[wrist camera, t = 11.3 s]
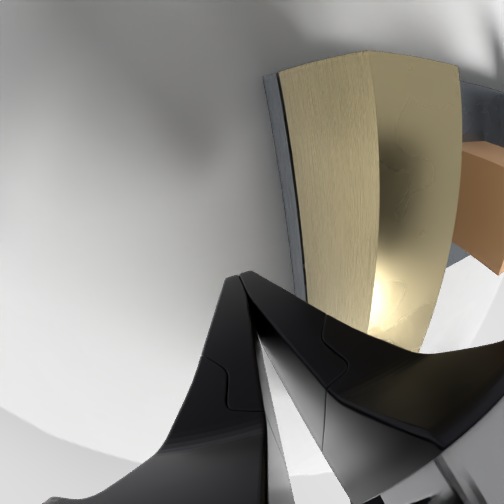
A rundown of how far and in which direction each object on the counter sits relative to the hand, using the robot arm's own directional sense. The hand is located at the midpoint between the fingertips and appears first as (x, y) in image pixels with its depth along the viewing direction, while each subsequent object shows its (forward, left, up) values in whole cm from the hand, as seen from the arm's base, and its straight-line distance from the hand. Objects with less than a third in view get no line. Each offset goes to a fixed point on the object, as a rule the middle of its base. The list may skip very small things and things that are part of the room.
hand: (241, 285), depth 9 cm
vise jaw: (0, -4, -2) cm, 5 cm away
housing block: (0, -14, -2) cm, 14 cm away
